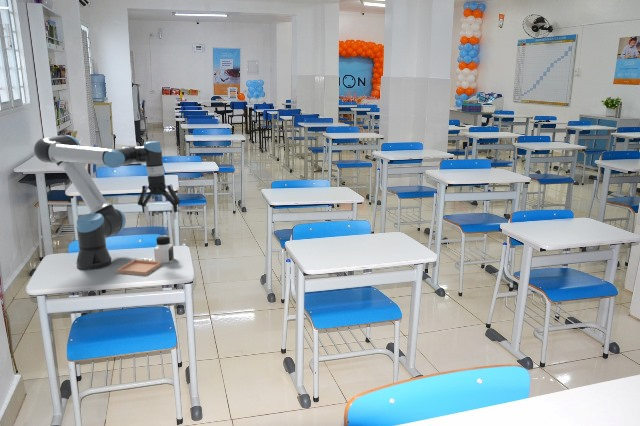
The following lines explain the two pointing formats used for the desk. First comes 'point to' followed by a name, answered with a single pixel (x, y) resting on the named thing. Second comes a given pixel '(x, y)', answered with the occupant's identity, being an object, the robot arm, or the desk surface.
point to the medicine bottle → (163, 250)
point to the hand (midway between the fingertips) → (161, 219)
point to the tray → (139, 267)
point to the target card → (146, 259)
